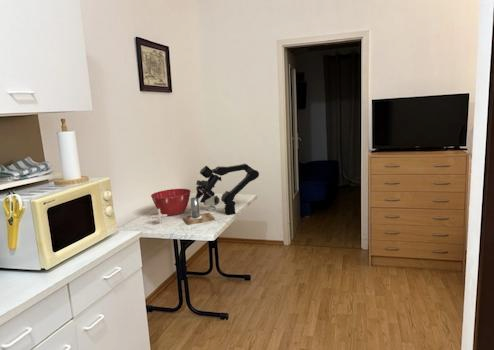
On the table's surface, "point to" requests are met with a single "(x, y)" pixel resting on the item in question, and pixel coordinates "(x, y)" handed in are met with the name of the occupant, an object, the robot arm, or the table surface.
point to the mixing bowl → (171, 201)
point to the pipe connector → (159, 216)
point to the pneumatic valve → (212, 202)
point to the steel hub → (195, 207)
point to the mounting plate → (202, 218)
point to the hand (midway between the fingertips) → (197, 201)
